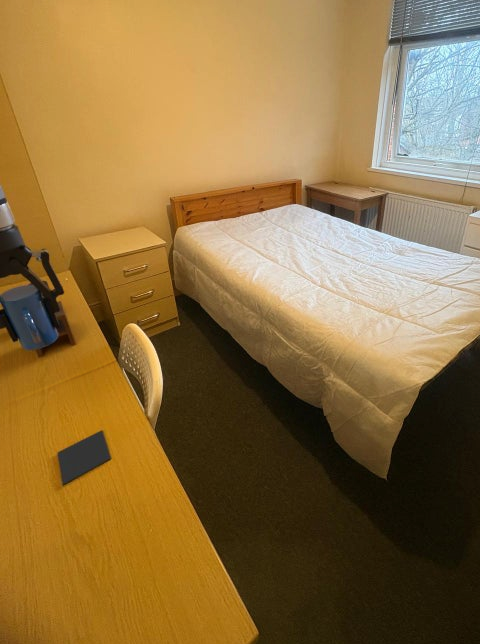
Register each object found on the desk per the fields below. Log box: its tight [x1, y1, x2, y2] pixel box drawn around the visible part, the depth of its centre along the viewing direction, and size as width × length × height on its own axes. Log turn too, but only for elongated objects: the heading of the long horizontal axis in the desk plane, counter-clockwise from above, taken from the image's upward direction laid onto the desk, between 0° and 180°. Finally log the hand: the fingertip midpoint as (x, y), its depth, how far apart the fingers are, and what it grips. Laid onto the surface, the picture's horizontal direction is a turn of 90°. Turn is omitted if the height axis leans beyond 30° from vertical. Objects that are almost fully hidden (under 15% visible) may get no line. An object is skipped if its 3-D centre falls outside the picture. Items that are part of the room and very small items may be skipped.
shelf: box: [34, 300, 77, 358], centre depth 103 cm, size 10×10×12 cm
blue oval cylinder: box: [0, 284, 59, 351], centre depth 65 cm, size 9×6×12 cm
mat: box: [57, 430, 112, 486], centre depth 72 cm, size 9×9×1 cm
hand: (36, 331), depth 68 cm, fingers closed on blue oval cylinder, 6 cm apart
